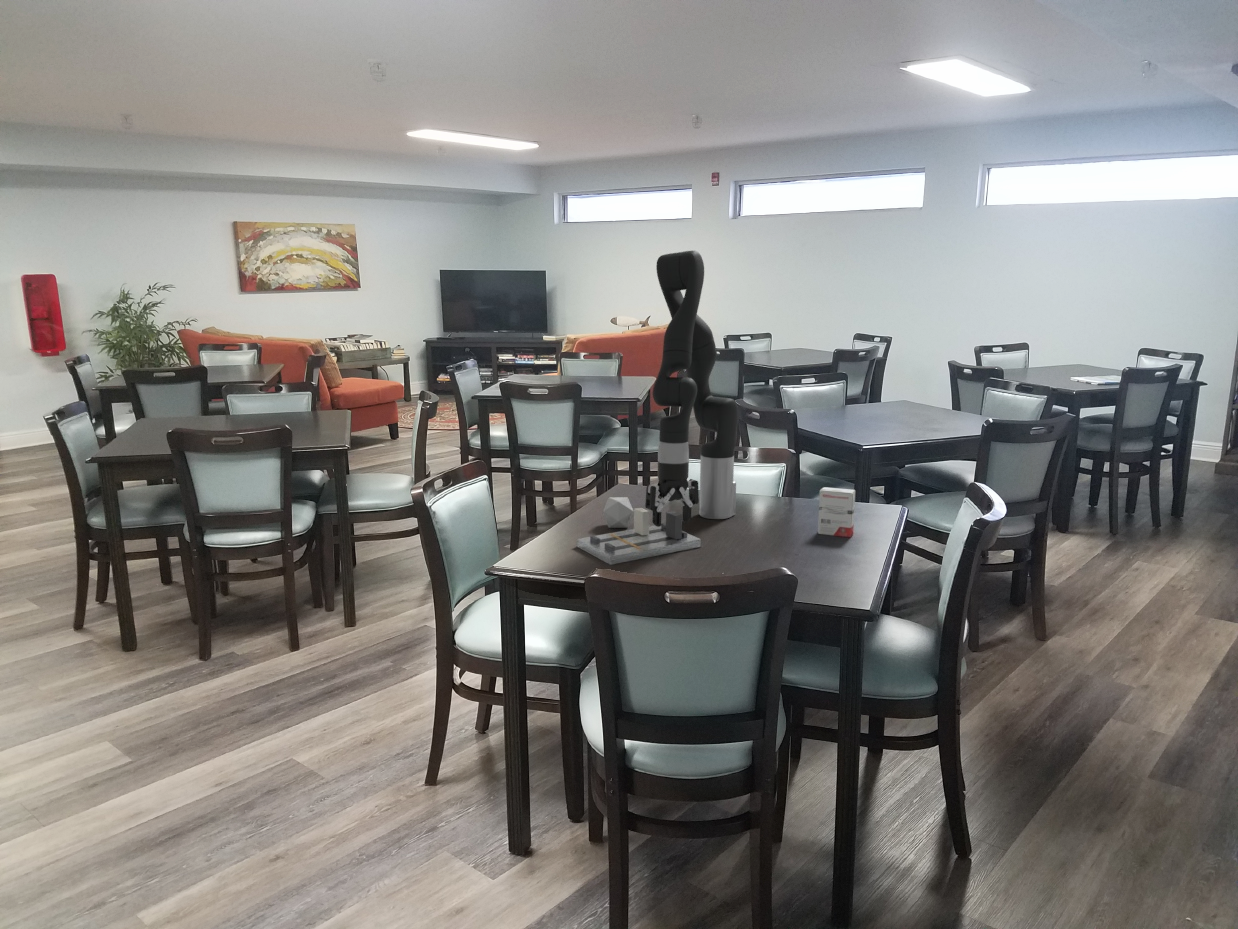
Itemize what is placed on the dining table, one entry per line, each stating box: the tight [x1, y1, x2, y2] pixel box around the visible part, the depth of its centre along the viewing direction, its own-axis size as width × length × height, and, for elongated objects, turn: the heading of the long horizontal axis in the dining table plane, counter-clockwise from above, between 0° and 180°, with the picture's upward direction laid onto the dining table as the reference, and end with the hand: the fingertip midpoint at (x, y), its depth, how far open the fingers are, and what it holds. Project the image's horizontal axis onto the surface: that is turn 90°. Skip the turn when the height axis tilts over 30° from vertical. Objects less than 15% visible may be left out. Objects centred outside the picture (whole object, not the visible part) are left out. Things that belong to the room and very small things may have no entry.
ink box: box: [817, 486, 856, 538], centre depth 218 cm, size 9×5×12 cm, turn 65°
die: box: [602, 496, 634, 529], centre depth 225 cm, size 8×9×10 cm
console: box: [576, 522, 702, 566], centre depth 208 cm, size 26×16×3 cm, turn 121°
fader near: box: [665, 510, 683, 539], centre depth 208 cm, size 2×4×6 cm, turn 32°
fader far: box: [633, 507, 650, 536], centre depth 211 cm, size 2×4×6 cm, turn 31°
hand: (671, 523), depth 208 cm, fingers open, 8 cm apart
